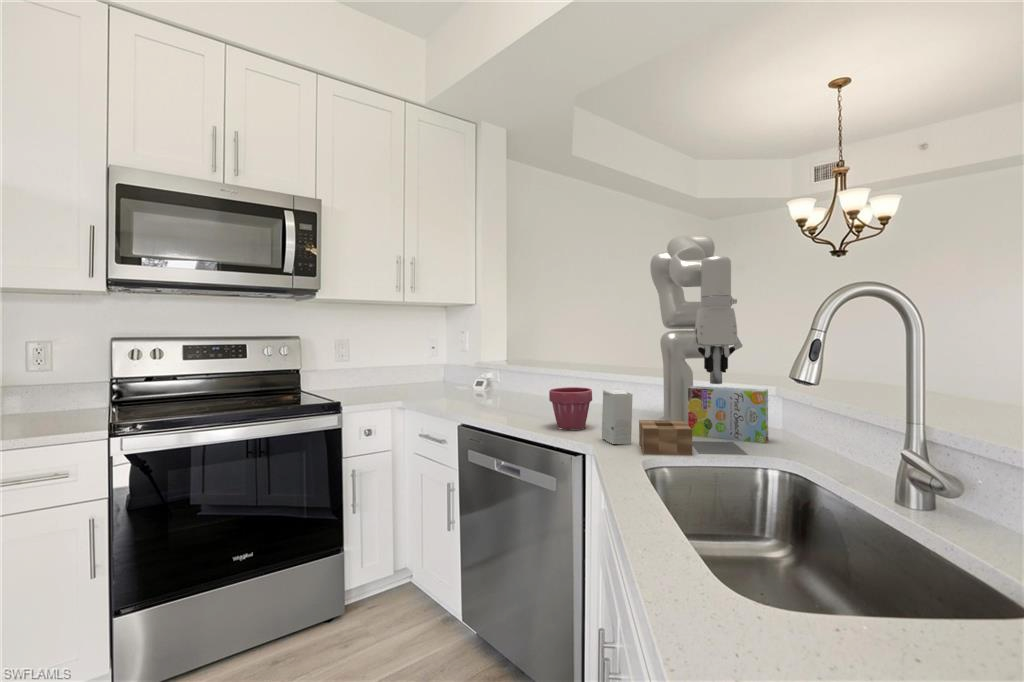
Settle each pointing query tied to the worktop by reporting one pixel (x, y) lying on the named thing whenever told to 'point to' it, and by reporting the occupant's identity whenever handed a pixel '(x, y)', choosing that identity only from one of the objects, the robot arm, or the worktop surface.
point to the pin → (716, 364)
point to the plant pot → (571, 406)
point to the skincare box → (617, 416)
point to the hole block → (665, 437)
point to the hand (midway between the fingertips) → (716, 371)
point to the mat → (717, 448)
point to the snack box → (728, 413)
